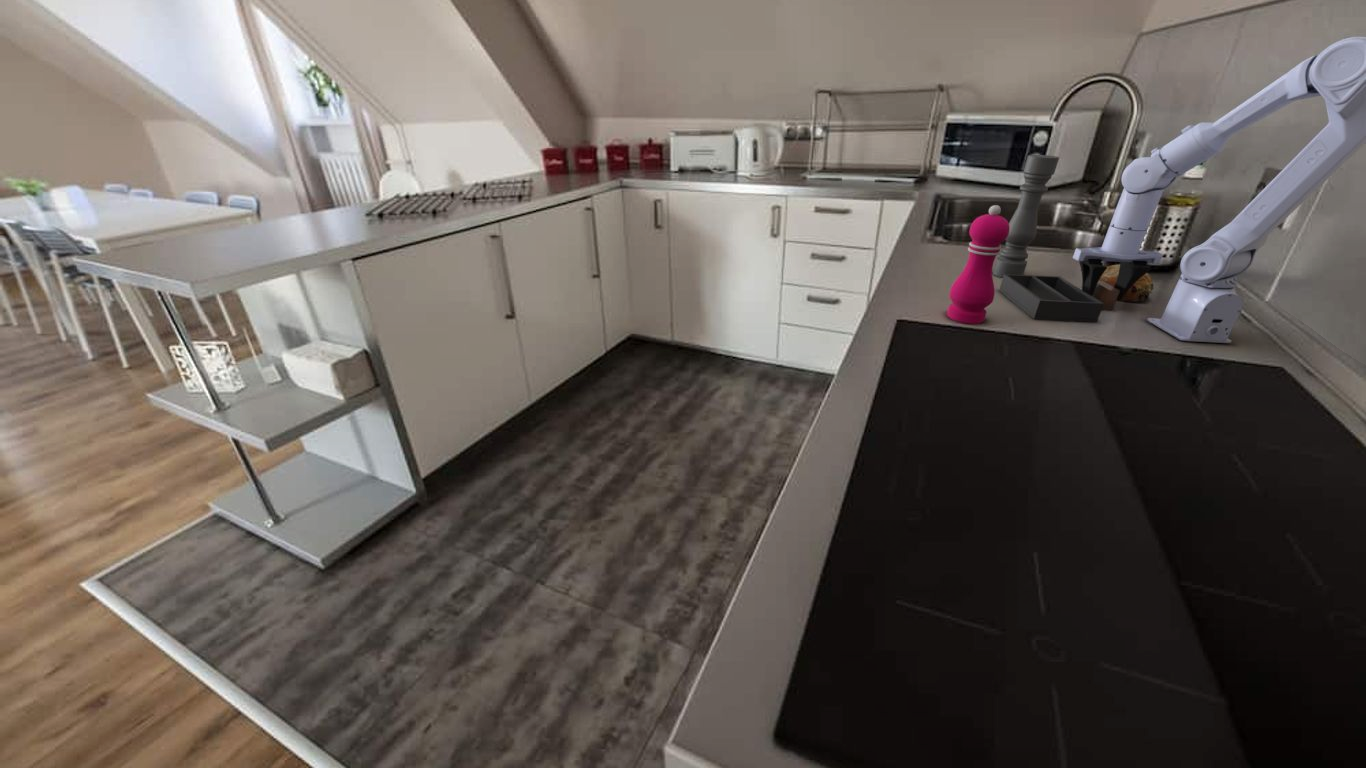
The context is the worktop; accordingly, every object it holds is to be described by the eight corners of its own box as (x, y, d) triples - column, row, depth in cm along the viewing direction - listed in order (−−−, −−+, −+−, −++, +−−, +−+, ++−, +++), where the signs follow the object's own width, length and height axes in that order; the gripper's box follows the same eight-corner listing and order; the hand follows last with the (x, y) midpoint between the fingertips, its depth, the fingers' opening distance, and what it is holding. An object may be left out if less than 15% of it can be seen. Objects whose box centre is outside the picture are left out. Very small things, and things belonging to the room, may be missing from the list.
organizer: (1096, 322, 101) (1104, 303, 99) (1033, 319, 102) (1040, 300, 100) (1054, 293, 115) (1059, 276, 113) (998, 290, 116) (1003, 273, 114)
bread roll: (1129, 306, 119) (1132, 268, 119) (1166, 302, 109) (1170, 260, 109) (1080, 304, 120) (1083, 266, 120) (1112, 299, 110) (1117, 258, 109)
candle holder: (986, 272, 127) (1019, 155, 115) (1004, 269, 130) (1039, 154, 118) (1010, 280, 122) (1047, 158, 111) (1029, 277, 125) (1067, 157, 113)
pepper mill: (991, 326, 98) (1027, 210, 89) (948, 323, 100) (978, 208, 90) (981, 312, 105) (1012, 202, 95) (940, 309, 106) (967, 200, 96)
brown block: (1113, 310, 107) (1121, 290, 105) (1100, 309, 107) (1108, 289, 105) (1076, 288, 119) (1083, 269, 117) (1065, 287, 119) (1071, 269, 117)
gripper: (1156, 224, 105) (1127, 292, 112) (1075, 221, 106) (1052, 289, 113) (1181, 232, 99) (1150, 305, 106) (1096, 229, 100) (1069, 301, 107)
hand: (1100, 297), depth 109 cm, fingers open, 5 cm apart
